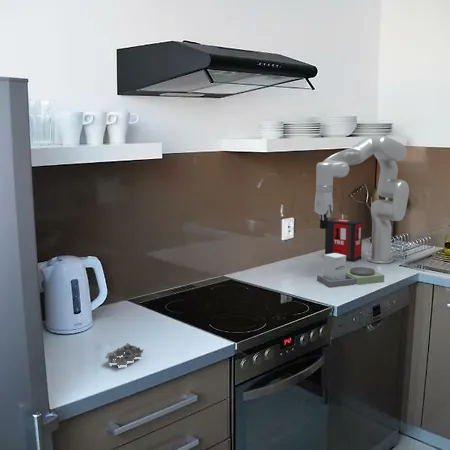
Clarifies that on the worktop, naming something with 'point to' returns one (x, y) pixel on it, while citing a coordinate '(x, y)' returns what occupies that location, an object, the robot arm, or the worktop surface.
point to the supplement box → (334, 266)
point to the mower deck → (354, 277)
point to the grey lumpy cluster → (129, 354)
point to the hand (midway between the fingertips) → (323, 228)
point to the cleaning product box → (344, 238)
